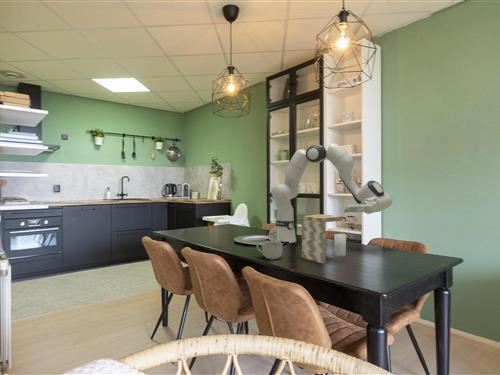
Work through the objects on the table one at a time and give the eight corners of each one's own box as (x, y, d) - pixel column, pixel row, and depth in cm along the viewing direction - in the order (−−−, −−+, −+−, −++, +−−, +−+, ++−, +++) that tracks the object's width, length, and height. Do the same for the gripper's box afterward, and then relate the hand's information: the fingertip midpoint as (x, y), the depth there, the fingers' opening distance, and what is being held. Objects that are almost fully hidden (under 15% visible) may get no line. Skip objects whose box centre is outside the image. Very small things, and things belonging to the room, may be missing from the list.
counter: (301, 257, 160) (301, 215, 160) (320, 254, 168) (320, 214, 168) (323, 263, 148) (323, 218, 148) (342, 259, 156) (342, 216, 155)
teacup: (286, 257, 162) (286, 242, 162) (277, 261, 152) (277, 245, 152) (262, 254, 169) (262, 239, 169) (253, 258, 159) (253, 243, 159)
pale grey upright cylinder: (332, 254, 167) (331, 234, 166) (339, 253, 170) (339, 233, 170) (340, 256, 162) (340, 236, 161) (348, 255, 165) (348, 234, 165)
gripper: (354, 201, 184) (336, 206, 178) (381, 199, 165) (362, 205, 160) (356, 211, 184) (339, 216, 178) (384, 211, 165) (365, 216, 160)
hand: (350, 211), depth 169 cm, fingers open, 8 cm apart
